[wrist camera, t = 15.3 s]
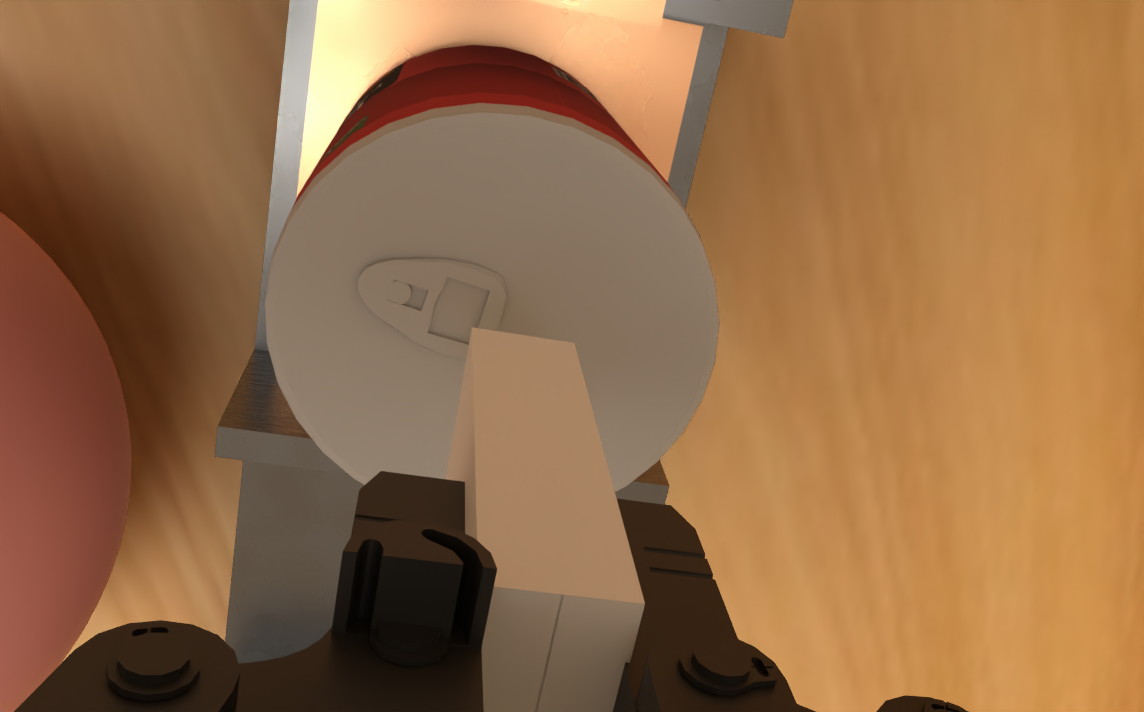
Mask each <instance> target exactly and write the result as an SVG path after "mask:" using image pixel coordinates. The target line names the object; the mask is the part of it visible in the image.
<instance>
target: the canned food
mask: <svg viewBox="0 0 1144 712" xmlns="http://www.w3.org/2000/svg"><path fill="white" fill-rule="evenodd" d="M265 314H266V335H267V345H268V349H269V353H270V356H271V360H272V364H273V367H274V371H275V375H276V378H277V382H278V384H279V386H280V388H281V390H282V392H283V394H284V396H285V398H286V400H287V402H288V404H289V406H290V408H291V410H292V412H293V414H294V415H295V417H296V419H297V421H298V422H299V423H300V424H301V426H302V427H303V428H304V429H305V431H306V432H307V433H308V434H309V436H310V437H311V438H312V439H313V441H314V442H315V443H316V444H317V446H318V447H319V448H320V449H321V451H322V452H323V453H324V454H326V455H327V456H328V457H329V458H330V459H331V460H333V461H334V462H335V463H336V464H337V465H338V466H340V467H341V468H342V469H343V470H344V471H345V472H347V473H348V474H349V475H350V476H351V477H352V478H354V479H355V480H357V481H359V482H360V483H362V484H364V485H365V484H366V483H368V482H369V481H370V480H371V479H372V478H373V477H375V476H376V475H377V474H378V473H379V472H380V471H386V472H393V473H401V474H409V475H417V476H424V477H432V478H440V479H445V478H446V473H447V467H448V461H449V455H450V450H451V444H452V438H453V432H454V427H455V421H456V415H457V409H458V404H459V398H460V392H461V386H462V381H463V375H464V369H465V364H466V358H467V352H468V346H469V341H470V335H471V329H472V327H473V328H480V329H487V330H493V331H500V332H506V333H513V334H519V335H526V336H532V337H539V338H546V339H552V340H559V341H565V342H572V343H575V347H576V351H577V354H578V358H579V362H580V365H581V369H582V373H583V376H584V380H585V384H586V388H587V391H588V395H589V399H590V402H591V406H592V410H593V413H594V417H595V421H596V424H597V428H598V432H599V436H600V439H601V443H602V447H603V450H604V454H605V458H606V461H607V465H608V469H609V473H610V476H611V480H612V484H613V487H614V491H615V492H616V491H618V490H620V489H622V488H624V487H626V486H627V485H628V484H630V483H631V482H632V481H634V480H635V479H636V478H637V477H639V476H640V475H641V474H642V473H644V472H645V471H646V470H648V469H649V468H650V467H651V466H653V465H654V464H655V463H657V462H658V461H659V459H660V458H661V457H662V456H663V455H664V454H665V453H666V451H667V450H668V449H669V448H670V447H671V446H672V445H673V444H674V442H675V441H676V440H677V439H678V438H679V437H680V436H681V434H682V433H683V432H684V430H685V429H686V427H687V425H688V423H689V422H690V420H691V418H692V416H693V415H694V413H695V411H696V410H697V408H698V406H699V404H700V403H701V401H702V399H703V396H704V393H705V390H706V387H707V384H708V381H709V378H710V375H711V372H712V369H713V366H714V363H715V357H716V348H717V339H718V330H719V315H718V305H717V295H716V285H715V281H714V278H713V275H712V271H711V268H710V265H709V262H708V259H707V256H706V253H705V250H704V247H703V244H702V241H701V237H700V234H699V233H698V231H697V229H696V227H695V226H694V224H693V222H692V220H691V219H690V217H689V215H688V213H687V212H686V210H685V208H684V207H683V205H682V203H681V201H680V200H679V198H678V197H677V195H676V194H675V193H674V192H673V190H672V189H671V187H670V185H669V184H668V182H667V181H666V180H665V179H664V178H663V176H662V175H661V174H660V173H659V172H658V170H657V169H656V168H655V167H654V166H653V164H652V163H651V162H650V161H649V160H648V158H647V157H646V156H645V155H644V154H643V152H642V151H641V150H640V149H639V148H638V147H637V145H636V144H635V143H634V142H633V141H632V139H631V138H630V137H629V136H628V135H627V133H626V132H625V131H624V130H623V129H622V127H621V126H620V125H619V124H618V123H617V121H616V120H615V119H614V118H613V117H612V116H611V114H610V113H609V112H608V111H607V110H606V109H605V107H604V106H603V105H602V104H601V103H600V102H599V101H598V99H597V98H596V97H595V96H594V95H593V94H592V93H591V92H590V90H589V89H588V88H586V87H585V86H584V85H583V84H581V83H580V82H579V81H577V80H576V79H575V78H573V77H572V76H571V75H569V74H568V73H567V72H565V71H564V70H563V69H561V68H559V67H557V66H555V65H553V64H551V63H549V62H547V61H545V60H543V59H541V58H539V57H537V56H534V55H531V54H527V53H523V52H520V51H516V50H512V49H509V48H505V47H494V46H481V45H467V46H459V47H450V48H442V49H438V50H435V51H432V52H429V53H426V54H423V55H420V56H417V57H414V58H411V59H410V60H408V61H406V62H404V63H403V64H401V65H399V66H398V67H396V68H394V69H392V70H391V71H389V72H387V73H385V74H384V75H383V76H382V77H381V78H380V79H379V80H377V81H376V82H375V83H374V84H373V85H372V86H371V87H370V88H369V89H367V90H366V91H365V92H364V93H363V94H362V95H361V97H360V98H359V99H358V101H357V102H356V104H355V105H354V106H353V108H352V109H351V111H350V112H349V113H348V115H347V116H346V118H345V119H344V121H343V122H342V124H341V126H340V127H339V129H338V131H337V132H336V134H335V135H334V137H333V139H332V140H331V142H330V144H329V145H328V147H327V149H326V150H325V152H324V153H323V155H322V157H321V158H320V160H319V162H318V163H317V165H316V166H315V168H314V170H313V171H312V173H311V175H310V176H309V178H308V180H307V181H306V183H305V184H304V186H303V188H302V189H301V191H300V193H299V194H298V196H297V198H296V201H295V203H294V205H293V207H292V209H291V211H290V213H289V215H288V217H287V220H286V222H285V225H284V227H283V229H282V232H281V234H280V236H279V239H278V241H277V243H276V246H275V248H274V251H273V256H272V262H271V268H270V273H269V279H268V285H267V290H266V299H265Z"/></svg>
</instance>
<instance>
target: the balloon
mask: <svg viewBox="0 0 1144 712" xmlns="http://www.w3.org/2000/svg"><path fill="white" fill-rule="evenodd" d="M130 487H131V440H130V429H129V421H128V415H127V409H126V404H125V399H124V395H123V391H122V387H121V383H120V380H119V377H118V374H117V371H116V368H115V365H114V362H113V359H112V356H111V354H110V351H109V349H108V346H107V344H106V342H105V339H104V337H103V335H102V333H101V331H100V329H99V327H98V325H97V323H96V322H95V320H94V318H93V316H92V315H91V313H90V311H89V309H88V308H87V306H86V305H85V303H84V301H83V300H82V298H81V297H80V295H79V294H78V292H77V291H76V289H75V288H74V287H73V285H72V284H71V282H70V281H69V280H68V279H67V277H66V276H65V275H64V273H63V272H62V271H61V270H60V269H59V267H58V266H57V265H56V264H55V263H54V261H53V260H52V259H51V258H50V257H49V256H48V255H47V254H46V253H45V252H44V250H43V249H42V248H41V247H40V246H39V245H38V244H37V243H36V242H35V241H34V240H33V239H32V238H30V237H29V236H28V235H27V234H26V233H25V232H24V231H23V230H22V229H21V228H20V227H18V226H17V225H16V224H15V223H14V222H13V221H11V220H10V219H9V218H8V217H7V216H5V215H4V214H3V213H1V212H0V712H14V711H15V710H16V709H17V708H18V707H19V706H20V705H21V704H22V703H23V702H24V701H25V700H26V699H27V698H28V697H29V696H30V695H31V694H32V693H33V692H34V691H35V690H36V689H37V688H38V687H39V686H40V685H41V684H42V683H43V682H44V680H45V679H46V678H47V677H48V676H49V675H50V674H51V673H52V672H53V671H54V670H55V669H56V668H57V667H58V666H59V665H60V664H61V662H62V661H63V660H64V658H65V657H66V655H67V654H68V653H69V651H70V650H71V648H72V647H73V645H74V644H75V642H76V641H77V639H78V638H79V636H80V634H81V633H82V631H83V630H84V628H85V626H86V624H87V623H88V621H89V619H90V617H91V615H92V613H93V612H94V610H95V608H96V606H97V604H98V602H99V600H100V597H101V595H102V593H103V591H104V589H105V586H106V584H107V582H108V579H109V576H110V574H111V571H112V568H113V566H114V563H115V560H116V557H117V554H118V550H119V547H120V543H121V539H122V536H123V531H124V527H125V522H126V516H127V511H128V504H129V497H130Z"/></svg>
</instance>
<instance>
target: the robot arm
mask: <svg viewBox="0 0 1144 712" xmlns="http://www.w3.org/2000/svg"><path fill="white" fill-rule="evenodd" d="M712 577H713V573H712V571H711V568H710V566H709V563H708V561H707V559H705V553H704V550H703V548H702V545H701V542H700V540H699V537H698V535H697V532H696V530H695V528H694V527H693V526H691V525H690V524H689V523H688V522H687V521H686V520H685V519H684V518H683V517H682V516H681V515H680V514H679V513H678V512H677V511H676V510H675V509H674V508H673V507H672V506H671V505H663V504H656V503H648V502H640V501H633V500H625V499H617V498H616V495H615V491H614V487H613V484H612V480H611V476H610V473H609V469H608V465H607V461H606V458H605V454H604V450H603V447H602V443H601V439H600V436H599V432H598V428H597V424H596V421H595V417H594V413H593V410H592V406H591V402H590V399H589V395H588V391H587V388H586V384H585V380H584V376H583V373H582V369H581V365H580V362H579V358H578V354H577V351H576V347H575V343H572V342H565V341H559V340H552V339H546V338H539V337H532V336H526V335H519V334H513V333H506V332H500V331H493V330H487V329H480V328H473V327H472V329H471V335H470V341H469V346H468V352H467V358H466V364H465V369H464V375H463V381H462V386H461V392H460V398H459V404H458V409H457V415H456V421H455V427H454V432H453V438H452V444H451V450H450V455H449V461H448V467H447V473H446V478H445V479H440V478H432V477H424V476H417V475H409V474H401V473H393V472H386V471H380V472H379V473H378V474H377V475H376V476H375V477H373V478H372V479H371V480H370V481H369V482H368V483H366V484H365V485H364V486H363V487H362V488H361V489H360V490H359V494H358V500H357V505H356V511H355V517H354V522H353V527H352V533H351V538H350V539H349V541H348V543H347V544H346V546H345V548H344V550H343V552H342V560H341V567H340V574H339V581H338V588H337V595H336V602H335V609H334V616H333V623H332V627H331V628H330V629H329V630H328V632H327V633H326V634H325V635H324V636H323V637H322V638H321V639H320V640H318V641H317V642H315V643H314V644H312V645H311V646H309V647H307V648H306V649H304V650H301V651H298V652H296V653H293V654H290V655H288V656H285V657H280V658H275V659H270V660H265V661H258V662H249V663H240V664H238V661H237V657H236V654H235V651H234V650H233V649H232V648H231V647H230V646H229V645H228V644H227V643H226V642H225V641H224V640H222V639H221V638H220V637H219V636H218V635H216V634H214V633H211V632H209V631H207V630H204V629H202V628H199V627H197V626H195V625H192V624H184V623H177V622H169V621H150V622H140V623H129V624H126V625H123V626H120V627H117V628H114V629H111V630H108V631H105V632H102V633H99V634H97V635H95V636H94V637H93V638H91V639H90V640H88V641H87V642H85V643H84V644H83V645H81V646H80V647H78V648H77V649H75V650H74V651H73V652H72V653H71V654H70V655H69V656H68V657H67V658H66V659H65V660H64V661H63V662H62V663H61V664H60V665H59V666H58V667H57V668H56V669H55V670H54V671H53V672H52V673H51V674H50V675H49V676H48V677H47V678H46V679H45V680H44V682H43V683H42V684H41V685H40V686H39V687H38V688H37V689H36V690H35V691H34V692H33V693H32V694H31V695H30V696H29V697H28V698H27V699H26V700H25V701H24V702H23V703H22V704H21V705H20V706H19V707H18V708H17V709H16V710H15V711H14V712H815V711H813V710H810V709H808V708H805V707H803V706H800V705H798V704H797V703H796V701H795V699H794V697H793V694H792V692H791V690H790V687H789V685H788V683H787V680H786V679H785V677H784V676H783V674H782V673H781V671H780V670H779V669H778V667H777V666H776V664H775V663H774V662H773V661H772V660H771V659H769V658H768V657H767V656H765V655H764V654H763V653H762V652H760V651H759V650H758V649H756V648H755V647H754V646H752V645H749V644H747V643H745V642H743V641H741V640H739V639H738V638H737V635H736V633H735V630H734V628H733V625H732V622H731V620H730V617H729V615H728V612H727V610H726V607H725V604H724V602H723V599H722V597H721V594H720V592H719V589H718V586H717V584H716V581H715V580H713V579H712ZM877 712H968V711H966V710H964V709H963V708H961V707H960V706H957V705H954V704H951V703H949V702H947V703H946V702H944V701H942V700H938V699H933V698H930V697H918V696H902V697H898V698H894V699H891V700H887V701H885V703H884V704H883V705H882V706H881V707H880V708H879V709H878V711H877Z"/></svg>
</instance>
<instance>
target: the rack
mask: <svg viewBox="0 0 1144 712" xmlns="http://www.w3.org/2000/svg"><path fill="white" fill-rule="evenodd" d="M792 4H793V0H290V3H289V13H288V23H287V33H286V43H285V53H284V63H283V73H282V83H281V93H280V102H279V112H278V122H277V132H276V142H275V152H274V162H273V172H272V182H271V192H270V202H269V211H268V221H267V231H266V241H265V251H264V261H263V271H262V281H261V291H260V301H259V311H258V320H257V330H256V340H255V349H254V351H253V353H252V356H251V358H250V360H249V362H248V364H247V366H246V368H245V370H244V372H243V374H242V376H241V378H240V381H239V383H238V385H237V387H236V389H235V391H234V393H233V395H232V397H231V399H230V401H229V403H228V406H227V408H226V410H225V412H224V414H223V416H222V418H221V420H220V422H219V424H218V427H217V438H216V449H215V457H222V458H229V459H237V460H243V469H242V479H241V489H240V499H239V509H238V519H237V529H236V538H235V548H234V558H233V568H232V578H231V588H230V598H229V608H228V618H227V628H226V637H225V642H226V643H227V644H228V645H229V646H230V647H231V648H232V649H233V650H234V651H235V654H236V657H237V661H238V664H240V663H249V662H258V661H265V660H270V659H275V658H280V657H285V656H288V655H290V654H293V653H296V652H298V651H301V650H304V649H306V648H307V647H309V646H311V645H312V644H314V643H315V642H317V641H318V640H320V639H321V638H322V637H323V636H324V635H325V634H326V633H327V632H328V630H329V629H330V628H331V627H332V623H333V616H334V609H335V602H336V595H337V588H338V581H339V574H340V567H341V560H342V552H343V550H344V548H345V546H346V544H347V543H348V541H349V539H350V538H351V533H352V527H353V522H354V517H355V511H356V505H357V500H358V494H359V490H360V489H361V488H362V487H363V486H364V484H362V483H360V482H359V481H357V480H355V479H354V478H352V477H351V476H350V475H349V474H348V473H347V472H345V471H344V470H343V469H342V468H341V467H340V466H338V465H337V464H336V463H335V462H334V461H333V460H331V459H330V458H329V457H328V456H327V455H326V454H324V453H323V452H322V451H321V449H320V448H319V447H318V446H317V444H316V443H315V442H314V441H313V439H312V438H311V437H310V436H309V434H308V433H307V432H306V431H305V429H304V428H303V427H302V426H301V424H300V423H299V422H298V421H297V419H296V417H295V415H294V414H293V412H292V410H291V408H290V406H289V404H288V402H287V400H286V398H285V396H284V394H283V392H282V390H281V388H280V386H279V384H278V382H277V378H276V375H275V371H274V367H273V364H272V360H271V356H270V353H269V349H268V345H267V335H266V314H265V299H266V290H267V285H268V279H269V273H270V268H271V262H272V256H273V251H274V248H275V246H276V243H277V241H278V239H279V236H280V234H281V232H282V229H283V227H284V225H285V222H286V220H287V217H288V215H289V213H290V211H291V209H292V207H293V205H294V203H295V201H296V198H297V196H298V194H299V193H300V191H301V189H302V188H303V186H304V184H305V183H306V181H307V180H308V178H309V176H310V175H311V173H312V171H313V170H314V168H315V166H316V165H317V163H318V162H319V160H320V158H321V157H322V155H323V153H324V152H325V150H326V149H327V147H328V145H329V144H330V142H331V140H332V139H333V137H334V135H335V134H336V132H337V131H338V129H339V127H340V126H341V124H342V122H343V121H344V119H345V118H346V116H347V115H348V113H349V112H350V111H351V109H352V108H353V106H354V105H355V104H356V102H357V101H358V99H359V98H360V97H361V95H362V94H363V93H364V92H365V91H366V90H367V89H369V88H370V87H371V86H372V85H373V84H374V83H375V82H376V81H377V80H379V79H380V78H381V77H382V76H383V75H384V74H385V73H387V72H389V71H391V70H392V69H394V68H396V67H398V66H399V65H401V64H403V63H404V62H406V61H408V60H410V59H411V58H414V57H417V56H420V55H423V54H426V53H429V52H432V51H435V50H438V49H442V48H450V47H459V46H467V45H481V46H494V47H505V48H509V49H512V50H516V51H520V52H523V53H527V54H531V55H534V56H537V57H539V58H541V59H543V60H545V61H547V62H549V63H551V64H553V65H555V66H557V67H559V68H561V69H563V70H564V71H565V72H567V73H568V74H569V75H571V76H572V77H573V78H575V79H576V80H577V81H579V82H580V83H581V84H583V85H584V86H585V87H586V88H588V89H589V90H590V92H591V93H592V94H593V95H594V96H595V97H596V98H597V99H598V101H599V102H600V103H601V104H602V105H603V106H604V107H605V109H606V110H607V111H608V112H609V113H610V114H611V116H612V117H613V118H614V119H615V120H616V121H617V123H618V124H619V125H620V126H621V127H622V129H623V130H624V131H625V132H626V133H627V135H628V136H629V137H630V138H631V139H632V141H633V142H634V143H635V144H636V145H637V147H638V148H639V149H640V150H641V151H642V152H643V154H644V155H645V156H646V157H647V158H648V160H649V161H650V162H651V163H652V164H653V166H654V167H655V168H656V169H657V170H658V172H659V173H660V174H661V175H662V176H663V178H664V179H665V180H666V181H667V182H668V184H669V185H670V187H671V189H672V190H673V192H674V193H675V194H676V195H677V197H678V198H679V200H680V201H681V203H682V205H683V207H684V208H685V209H686V204H687V200H688V196H689V192H690V188H691V183H692V179H693V175H694V171H695V167H696V162H697V158H698V154H699V150H700V146H701V141H702V137H703V133H704V129H705V124H706V120H707V116H708V112H709V108H710V103H711V99H712V95H713V91H714V87H715V82H716V78H717V74H718V70H719V66H720V61H721V57H722V53H723V49H724V45H725V40H726V36H727V32H728V28H729V27H730V28H735V29H740V30H745V31H750V32H755V33H760V34H765V35H769V36H774V37H779V38H784V36H785V32H786V28H787V24H788V20H789V16H790V12H791V8H792ZM668 489H669V484H668V481H667V479H666V476H665V473H664V471H663V468H662V465H661V462H660V460H659V461H658V462H657V463H655V464H654V465H653V466H651V467H650V468H649V469H648V470H646V471H645V472H644V473H642V474H641V475H640V476H639V477H637V478H636V479H635V480H634V481H632V482H631V483H630V484H628V485H627V486H626V487H624V488H622V489H620V490H618V491H616V492H615V495H616V498H617V499H625V500H633V501H640V502H648V503H656V504H663V505H665V501H666V497H667V493H668Z"/></svg>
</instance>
